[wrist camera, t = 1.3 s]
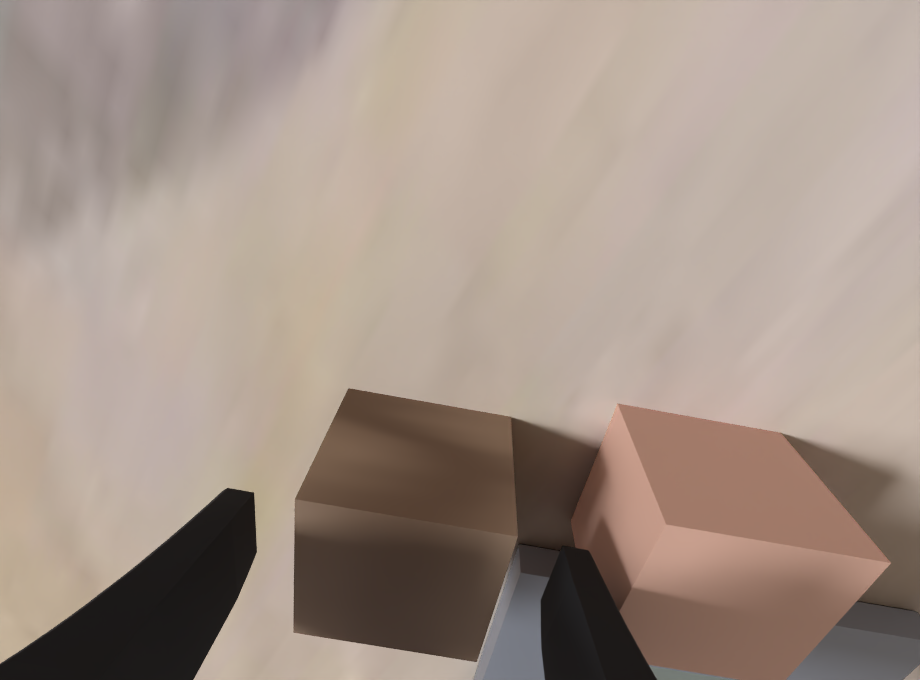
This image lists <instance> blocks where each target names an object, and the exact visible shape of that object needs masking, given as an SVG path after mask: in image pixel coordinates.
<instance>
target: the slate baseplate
mask: <svg viewBox="0 0 920 680" xmlns="http://www.w3.org/2000/svg"><path fill="white" fill-rule="evenodd" d="M559 553H560V551H556V550H550V549H544V548H538V547H532V546H526V545H520V544H519V546H518V548H517V551H516V554H515V557H514V560H513V563H512V566H511V569H510V572H509V575H508V578H507V581H506V584H505V587H504V590H503V593H502V596H501V599H500V602H499V605H498V608H497V611H496V614H495V617H494V620H493V623H492V626H491V629H490V632H489V635H488V638H487V641H486V644H485V647H484V650H483V652H482V655H481V658H480V661H479V664H478V667H477V670H476V673H475V676H474V679H473V680H545V676H544V668H543V659H542V650H541V598H542V595H543V593H544V590H545V588H546V585H547V583H548V580H549V578H550V575H551V573H552V570H553V568H554V565H555V563H556V560H557V558H558V556H559ZM918 665H920V615H919V614H918V613H917V612H915V611H909V610H903V609H898V608H892V607H886V606H880V605H874V604H868V603H862V602H856V603H855V604H854V605H853V606H852V607H851V608H850V609H849V610H848V611H847V613H846V614H845V615H844V616H843V617H842V618H841V619H840V620H839V621H838V623H837V624H836V625H835V626H834V627H833V628H832V629H831V630H830V631H829V632H828V634H827V635H826V636H825V637H824V638H823V639H822V640H821V641H820V642H819V644H818V645H817V646H816V647H815V648H814V649H813V650H812V651H811V652H810V653H809V655H808V656H807V657H806V658H805V659H804V660H803V661H802V662H801V663H800V665H799V666H798V667H797V668H796V669H795V670H794V671H793V672H792V673H791V675H790V676H789V677H788V678H787V679H786V680H903V679H904V678H905V677H906V676H907V675H908V674H910V673H911V672H912V671H913V670H914V669H915V668H916V667H917V666H918ZM649 666H650V668H651V670H652V671H653V673H654V675H655V677H656V678H657V680H738V679H732V678H726V677H720V676H714V675H708V674H702V673H695V672H689V671H683V670H677V669H671V668H665V667H659V666H653V665H649Z"/></svg>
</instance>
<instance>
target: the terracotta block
mask: <svg viewBox="0 0 920 680" xmlns="http://www.w3.org/2000/svg"><path fill="white" fill-rule="evenodd" d="M571 526H572V531H573V537H574V542H575V548H579V549H585V550H588V551H589V552H590V553H591V555H592V557H593V559H594V561H595V563H596V565H597V567H598V570H599V572H600V574H601V576H602V578H603V580H604V582H605V584H606V586H607V588H608V590H609V592H610V594H611V596H612V598H613V600H614V602H615V604H616V606H617V608H618V610H619V612H620V614H621V615H622V617H623V619H624V621H625V623H626V625H627V627H628V629H629V630H630V632H631V634H632V636H633V638H634V639H635V641H636V643H637V645H638V647H639V649H640V650H641V652H642V654H643V656H644V658H645V659H646V661H647V663H648V665H653V666H659V667H665V668H671V669H677V670H683V671H689V672H695V673H702V674H708V675H714V676H720V677H726V678H732V679H738V680H786V679H787V678H788V677H789V676H790V675H791V673H792V672H793V671H794V670H795V669H796V668H797V667H798V666H799V665H800V663H801V662H802V661H803V660H804V659H805V658H806V657H807V656H808V655H809V653H810V652H811V651H812V650H813V649H814V648H815V647H816V646H817V645H818V644H819V642H820V641H821V640H822V639H823V638H824V637H825V636H826V635H827V634H828V632H829V631H830V630H831V629H832V628H833V627H834V626H835V625H836V624H837V623H838V621H839V620H840V619H841V618H842V617H843V616H844V615H845V614H846V613H847V611H848V610H849V609H850V608H851V607H852V606H853V605H854V604H855V603H856V601H857V600H858V599H859V598H860V597H861V596H862V595H863V594H864V593H865V592H866V590H867V589H868V588H869V587H870V586H871V585H872V584H873V583H874V582H875V580H876V579H877V578H878V577H879V576H880V575H881V574H882V573H883V572H884V571H885V569H886V568H887V567H888V566H889V565H890V564H891V562H890V561H889V560H888V559H887V558H886V556H885V555H884V554H883V553H882V552H881V550H880V549H879V548H878V547H877V546H876V545H875V543H874V542H873V541H872V540H871V539H870V537H869V536H868V535H867V534H866V533H865V532H864V530H863V529H862V528H861V527H860V526H859V524H858V523H857V522H856V521H855V520H854V519H853V517H852V516H851V515H850V514H849V513H848V511H847V510H846V509H845V508H844V507H843V506H842V504H841V503H840V502H839V501H838V500H837V498H836V497H835V496H834V495H833V494H832V493H831V491H830V490H829V489H828V488H827V487H826V485H825V484H824V483H823V482H822V481H821V480H820V478H819V477H818V476H817V475H816V474H815V472H814V471H813V470H812V469H811V468H810V467H809V465H808V464H807V463H806V462H805V461H804V459H803V458H802V457H801V456H800V455H799V454H798V452H797V451H796V450H795V449H794V448H793V446H792V445H791V444H790V443H789V442H788V441H787V439H786V438H785V437H784V436H783V435H782V433H778V432H773V431H767V430H762V429H756V428H750V427H745V426H739V425H734V424H728V423H722V422H717V421H711V420H706V419H700V418H695V417H689V416H683V415H678V414H672V413H667V412H661V411H655V410H650V409H644V408H639V407H633V406H627V405H622V404H617V406H616V409H615V411H614V414H613V416H612V419H611V421H610V424H609V426H608V429H607V431H606V434H605V436H604V439H603V441H602V444H601V446H600V449H599V451H598V454H597V456H596V459H595V461H594V464H593V466H592V469H591V471H590V474H589V476H588V479H587V481H586V484H585V486H584V489H583V491H582V494H581V496H580V499H579V501H578V504H577V506H576V509H575V511H574V514H573V516H572V519H571Z"/></svg>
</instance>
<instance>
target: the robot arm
mask: <svg viewBox="0 0 920 680" xmlns="http://www.w3.org/2000/svg"><path fill="white" fill-rule="evenodd" d="M256 553H257V546H256V525H255V503H254V493H253V492H247V491H242V490H236V489H230V488H227V489H225V490H224V491H222V492H221V493H220V494H219V495H218V496H217V497H216V498H215V499H213V500H212V501H211V502H210V503H209V504H208V505H207V506H206V507H204V508H203V509H202V510H201V511H200V512H199V513H198V514H197V515H195V516H194V517H193V518H192V519H191V520H190V521H189V522H188V523H186V524H185V525H184V526H183V527H182V528H181V529H179V530H178V531H177V532H176V533H175V534H174V535H172V536H171V537H170V538H169V539H168V540H167V541H165V542H164V543H163V544H162V545H161V546H159V547H158V548H157V549H156V550H155V551H153V552H152V553H151V554H150V555H149V556H147V557H146V558H145V559H144V560H142V561H141V562H140V563H139V564H138V565H136V566H135V567H134V568H133V569H131V570H130V571H129V572H128V573H126V574H125V575H124V576H123V577H121V578H120V579H119V580H117V581H116V582H115V583H113V584H112V585H111V586H110V587H108V588H107V589H106V590H104V591H103V592H102V593H100V594H99V595H98V596H97V597H95V598H94V599H93V600H91V601H90V602H89V603H87V604H86V605H85V606H83V607H82V608H81V609H79V610H78V611H76V612H75V613H74V614H72V615H71V616H70V617H68V618H67V619H65V620H64V621H63V622H61V623H60V624H58V625H57V626H56V627H54V628H53V629H51V630H50V631H48V632H47V633H46V634H44V635H43V636H41V637H40V638H38V639H37V640H35V641H34V642H32V643H31V644H29V645H28V646H27V647H25V648H24V649H22V650H21V651H19V652H18V653H16V654H14V655H13V656H11V657H10V658H8V659H7V660H5V661H4V662H2V663H1V664H0V680H193V679H194V677H195V676H196V674H197V672H198V670H199V668H200V667H201V665H202V663H203V661H204V659H205V657H206V656H207V654H208V652H209V650H210V648H211V646H212V645H213V643H214V641H215V639H216V637H217V635H218V634H219V632H220V630H221V628H222V626H223V624H224V623H225V621H226V619H227V617H228V615H229V613H230V611H231V610H232V608H233V606H234V604H235V602H236V600H237V598H238V596H239V594H240V591H241V589H242V587H243V584H244V582H245V580H246V577H247V575H248V572H249V570H250V568H251V565H252V563H253V560H254V558H255V555H256ZM541 650H542V659H543V668H544V676H545V680H657V678H656V677H655V675H654V673H653V671H652V670H651V668H650V666H649V665H648V663H647V661H646V659H645V658H644V656H643V654H642V652H641V650H640V649H639V647H638V645H637V643H636V641H635V639H634V638H633V636H632V634H631V632H630V630H629V629H628V627H627V625H626V623H625V621H624V619H623V617H622V615H621V614H620V612H619V610H618V608H617V606H616V604H615V602H614V600H613V598H612V596H611V594H610V592H609V590H608V588H607V586H606V584H605V582H604V580H603V578H602V576H601V574H600V572H599V570H598V567H597V565H596V563H595V561H594V559H593V557H592V555H591V553H590V552H589V551H588V550H585V549H579V548H573V547H567V546H562V548H561V551H560V553H559V556H558V558H557V560H556V563H555V565H554V568H553V570H552V573H551V575H550V578H549V580H548V583H547V585H546V588H545V590H544V593H543V595H542V598H541Z"/></svg>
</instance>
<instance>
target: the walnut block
mask: <svg viewBox="0 0 920 680" xmlns="http://www.w3.org/2000/svg"><path fill="white" fill-rule="evenodd" d="M517 538H518V529H517V512H516V495H515V478H514V462H513V445H512V428H511V417H508V416H503V415H497V414H491V413H486V412H480V411H474V410H468V409H463V408H457V407H451V406H446V405H440V404H434V403H429V402H423V401H417V400H412V399H406V398H400V397H395V396H389V395H383V394H378V393H372V392H366V391H360V390H355V389H349V388H348V390H347V393H346V395H345V397H344V399H343V401H342V403H341V405H340V407H339V409H338V411H337V413H336V415H335V417H334V419H333V422H332V424H331V426H330V428H329V430H328V432H327V434H326V436H325V438H324V440H323V442H322V444H321V446H320V448H319V451H318V453H317V455H316V457H315V459H314V461H313V463H312V465H311V467H310V469H309V471H308V473H307V475H306V477H305V480H304V482H303V484H302V486H301V488H300V490H299V492H298V494H297V496H296V498H295V544H294V633H300V634H306V635H312V636H318V637H325V638H331V639H337V640H343V641H349V642H356V643H362V644H368V645H374V646H381V647H387V648H393V649H399V650H405V651H412V652H418V653H424V654H430V655H436V656H443V657H449V658H455V659H461V660H467V661H474V662H477V659H478V656H479V653H480V650H481V647H482V644H483V641H484V638H485V635H486V632H487V629H488V626H489V623H490V620H491V617H492V614H493V611H494V608H495V605H496V602H497V599H498V596H499V593H500V590H501V587H502V584H503V581H504V578H505V574H506V571H507V568H508V565H509V562H510V559H511V556H512V553H513V550H514V547H515V544H516V541H517Z"/></svg>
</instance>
